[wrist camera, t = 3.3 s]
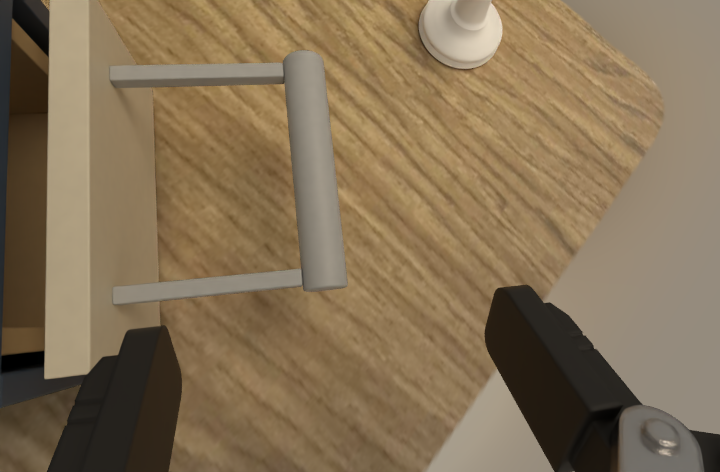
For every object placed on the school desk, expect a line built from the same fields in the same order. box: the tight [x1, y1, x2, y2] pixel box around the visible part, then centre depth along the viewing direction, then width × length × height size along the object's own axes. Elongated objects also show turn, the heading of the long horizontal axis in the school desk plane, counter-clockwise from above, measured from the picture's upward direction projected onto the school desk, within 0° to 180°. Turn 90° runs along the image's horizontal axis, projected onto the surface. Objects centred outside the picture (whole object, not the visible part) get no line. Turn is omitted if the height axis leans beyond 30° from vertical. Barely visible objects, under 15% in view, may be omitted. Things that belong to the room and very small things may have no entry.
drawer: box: [2, 0, 348, 379], centre depth 16 cm, size 22×13×7 cm, turn 97°
